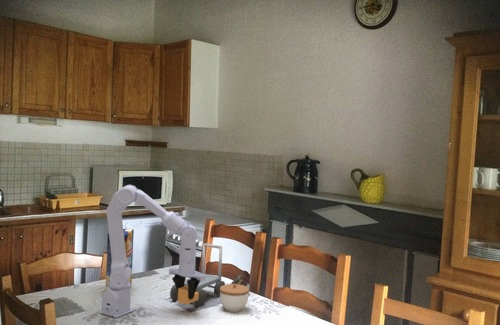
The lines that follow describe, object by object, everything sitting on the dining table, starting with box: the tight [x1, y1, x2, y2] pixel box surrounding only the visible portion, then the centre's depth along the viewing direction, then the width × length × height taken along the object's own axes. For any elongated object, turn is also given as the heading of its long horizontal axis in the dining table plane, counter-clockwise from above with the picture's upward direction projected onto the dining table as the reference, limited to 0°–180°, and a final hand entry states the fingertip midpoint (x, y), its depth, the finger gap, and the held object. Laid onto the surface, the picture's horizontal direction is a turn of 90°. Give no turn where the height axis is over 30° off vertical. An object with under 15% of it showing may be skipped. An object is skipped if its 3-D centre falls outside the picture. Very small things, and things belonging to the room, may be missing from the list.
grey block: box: [230, 274, 250, 289], centre depth 191 cm, size 10×7×12 cm
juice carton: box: [105, 228, 135, 291], centre depth 186 cm, size 12×8×24 cm, turn 2°
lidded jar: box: [219, 283, 250, 313], centre depth 173 cm, size 11×11×9 cm
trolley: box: [169, 242, 226, 307], centre depth 183 cm, size 20×12×20 cm, turn 151°
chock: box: [177, 286, 199, 305], centre depth 169 cm, size 7×4×5 cm, turn 151°
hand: (185, 297), depth 167 cm, fingers closed on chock, 4 cm apart
